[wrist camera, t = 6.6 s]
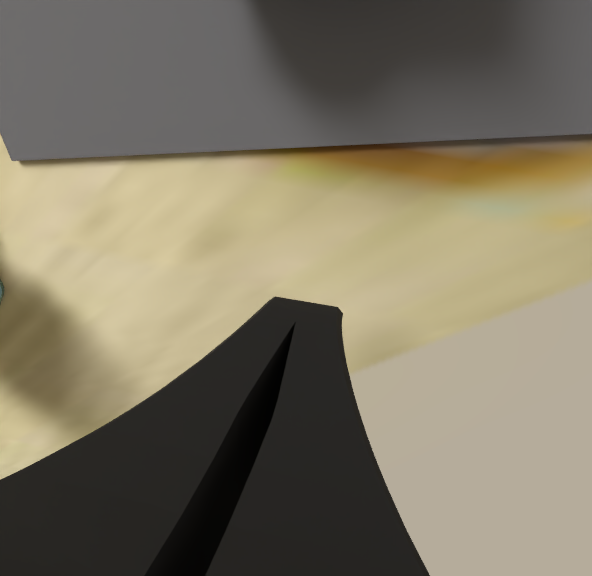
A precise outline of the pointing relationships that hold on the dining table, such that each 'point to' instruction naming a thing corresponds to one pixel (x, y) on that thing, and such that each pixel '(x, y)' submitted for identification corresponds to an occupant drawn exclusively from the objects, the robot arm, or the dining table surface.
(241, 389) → the robot arm
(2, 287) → the smartphone
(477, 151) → the dining table surface
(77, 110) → the mat
